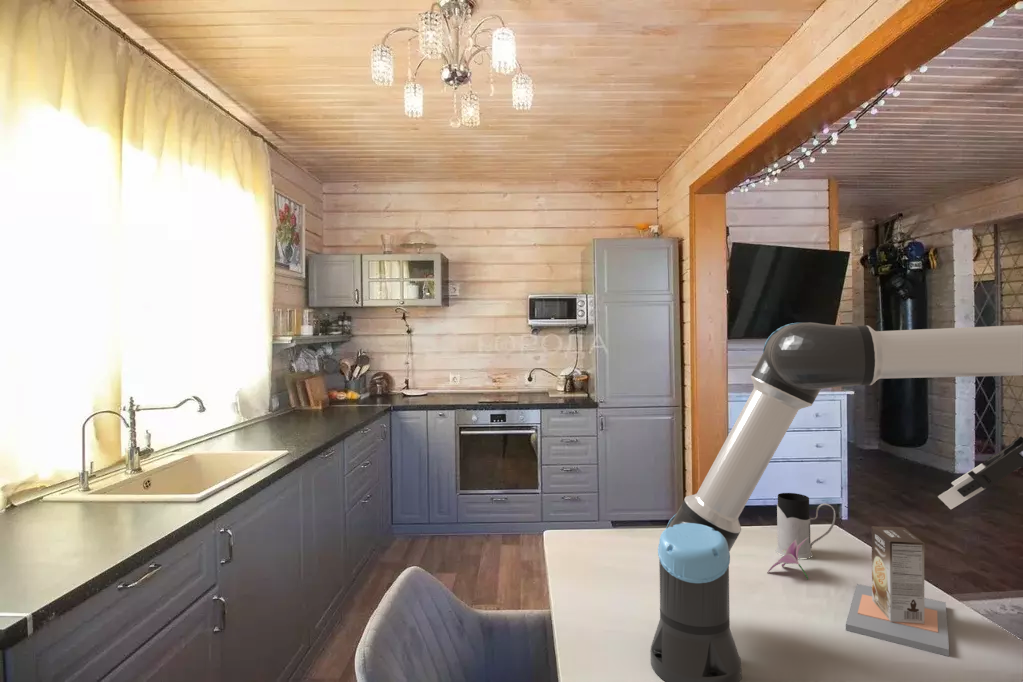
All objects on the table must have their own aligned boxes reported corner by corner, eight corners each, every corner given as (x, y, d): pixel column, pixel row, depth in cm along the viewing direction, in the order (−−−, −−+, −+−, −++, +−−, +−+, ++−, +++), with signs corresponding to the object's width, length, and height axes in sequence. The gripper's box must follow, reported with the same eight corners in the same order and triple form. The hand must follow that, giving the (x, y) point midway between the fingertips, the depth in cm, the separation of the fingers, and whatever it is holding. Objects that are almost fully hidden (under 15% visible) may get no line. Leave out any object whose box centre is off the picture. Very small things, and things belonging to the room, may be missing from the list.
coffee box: (870, 600, 120) (869, 525, 120) (904, 603, 118) (903, 526, 118) (890, 622, 111) (889, 540, 111) (927, 625, 109) (926, 542, 109)
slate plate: (949, 656, 101) (948, 648, 101) (845, 630, 111) (845, 623, 111) (945, 607, 119) (945, 601, 119) (856, 588, 128) (856, 582, 128)
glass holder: (774, 545, 156) (773, 491, 155) (832, 551, 151) (831, 495, 151) (777, 557, 147) (776, 499, 147) (839, 563, 143) (838, 504, 142)
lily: (809, 570, 142) (788, 532, 145) (839, 569, 131) (815, 529, 134) (770, 590, 139) (750, 552, 142) (797, 591, 128) (775, 550, 131)
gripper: (1085, 454, 85) (957, 528, 96) (1087, 434, 102) (978, 499, 113) (1037, 414, 88) (919, 491, 99) (1047, 402, 106) (946, 468, 117)
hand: (951, 495), depth 106 cm, fingers open, 13 cm apart
